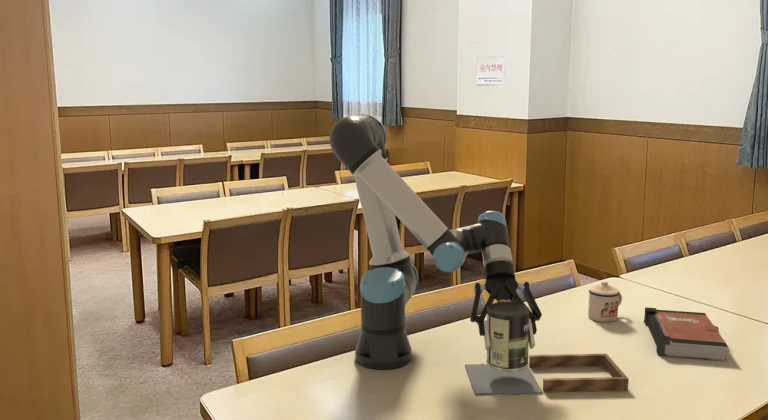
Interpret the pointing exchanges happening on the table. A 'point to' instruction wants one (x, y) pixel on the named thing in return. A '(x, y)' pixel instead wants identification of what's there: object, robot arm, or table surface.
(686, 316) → the book
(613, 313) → the teacup with lid
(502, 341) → the coffee can
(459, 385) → the table surface
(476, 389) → the rubber mat
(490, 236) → the robot arm
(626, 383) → the frame
